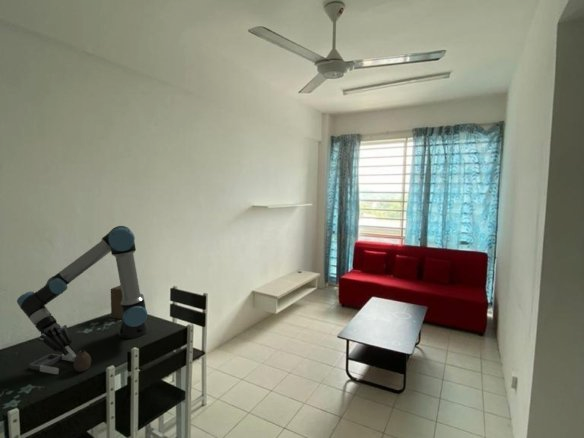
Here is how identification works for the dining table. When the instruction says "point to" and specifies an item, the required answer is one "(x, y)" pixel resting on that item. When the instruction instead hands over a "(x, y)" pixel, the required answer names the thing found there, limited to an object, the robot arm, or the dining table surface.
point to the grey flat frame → (45, 361)
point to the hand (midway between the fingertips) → (73, 358)
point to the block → (116, 302)
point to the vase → (82, 361)
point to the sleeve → (53, 369)
